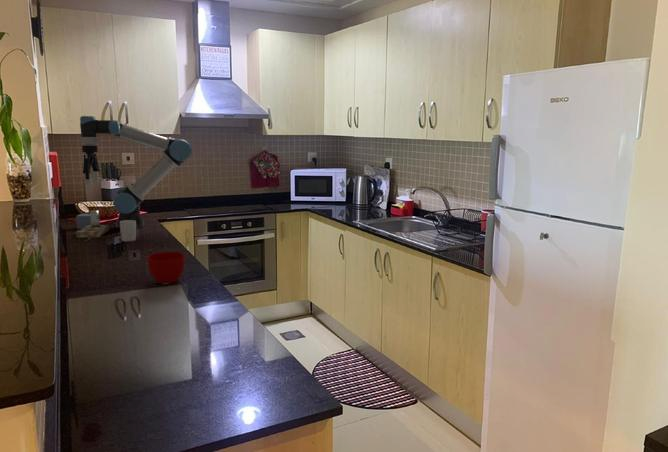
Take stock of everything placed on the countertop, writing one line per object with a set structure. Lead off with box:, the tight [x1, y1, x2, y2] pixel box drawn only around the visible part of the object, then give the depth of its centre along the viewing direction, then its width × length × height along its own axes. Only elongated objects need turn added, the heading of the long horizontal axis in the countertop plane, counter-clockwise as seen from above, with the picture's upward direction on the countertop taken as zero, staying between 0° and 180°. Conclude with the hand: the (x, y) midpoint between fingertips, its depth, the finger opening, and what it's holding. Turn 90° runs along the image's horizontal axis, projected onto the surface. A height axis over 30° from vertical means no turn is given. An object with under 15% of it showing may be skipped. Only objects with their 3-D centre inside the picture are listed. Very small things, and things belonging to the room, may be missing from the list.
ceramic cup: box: [147, 251, 185, 284], centre depth 184 cm, size 13×17×10 cm
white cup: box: [119, 220, 137, 243], centre depth 255 cm, size 8×8×10 cm
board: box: [75, 224, 110, 239], centre depth 271 cm, size 11×20×3 cm, turn 10°
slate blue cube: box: [75, 213, 91, 230], centre depth 287 cm, size 9×9×8 cm
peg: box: [89, 209, 101, 228], centre depth 275 cm, size 4×4×12 cm
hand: (92, 184), depth 272 cm, fingers open, 13 cm apart
